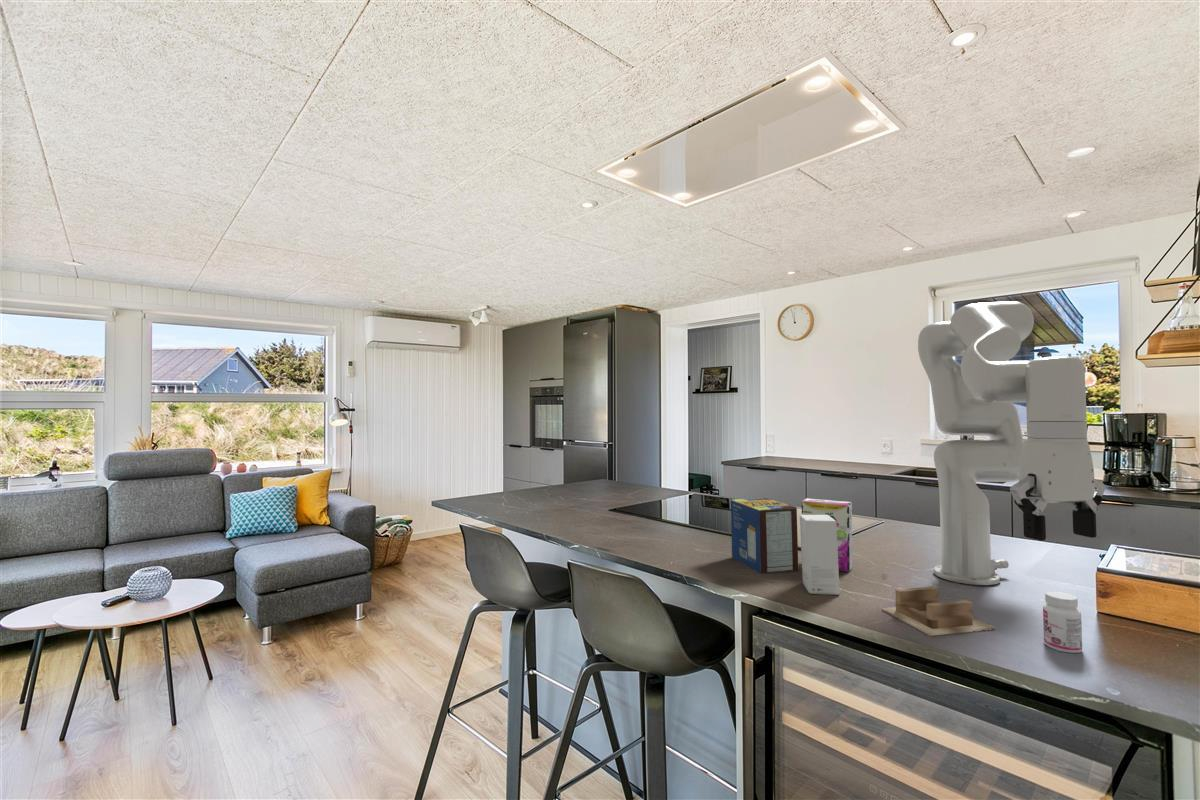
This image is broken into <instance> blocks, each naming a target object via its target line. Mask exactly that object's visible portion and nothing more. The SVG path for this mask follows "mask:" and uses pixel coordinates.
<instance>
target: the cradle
mask: <svg viewBox="0 0 1200 800" xmlns="http://www.w3.org/2000/svg"><path fill="white" fill-rule="evenodd" d="M938 590H939V588H937V587H935V586H923V587H912V588H911V587H909V588H900V589H899V588H898V589H897V588H896V589H895V606H890V607H882V608H881V611H883V612H884V613H886V614H888V615H890V616H892V617H894V618H896V619H897V618H898V619H897V620H900V621H902V622H903V623H905V624H907V625H909V626H911V627H913V628H915V629H917V630H919V631H921V632H922V633H924V634H926V635H928V636H931V637H932V636H941V635H951V634H952V635H953V634H962V633H963V634H964V633H972V632H973V631H975V632H982V630H985V631H991V630H990V629H995V630H996V627H995V626H993V625H991V624H988V623H986V622H984V621H981V620H979V619H977V618H975V617H973V602H971V601H969V600H967V599H965V600H964V599H963V600H955V601H954V600H953V601H942V602H939V591H938Z"/></svg>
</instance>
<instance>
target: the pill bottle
mask: <svg viewBox="0 0 1200 800" xmlns="http://www.w3.org/2000/svg"><path fill="white" fill-rule="evenodd" d="M1044 599H1045V603H1044V604H1043V605H1042V617H1043V620H1042V623H1043V625H1042V627H1043V643H1044V644H1045V645H1046V646H1047V647H1048V648H1050V649H1053V650H1056V651H1059V652H1062V653H1063V652H1064V653H1072V654H1077V653H1082V652H1083V631H1082V630H1083V629H1082V627H1083V626H1082V612H1081V611H1080V610H1079V609H1078V608H1079V606H1078V605H1079V604H1078V603H1079V602H1078V599H1079V598H1078V597H1077V596H1075V595H1074V594H1070V593H1066V592H1064V591H1063V592H1062V591H1055V590H1054V591H1046V592H1045V598H1044Z"/></svg>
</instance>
